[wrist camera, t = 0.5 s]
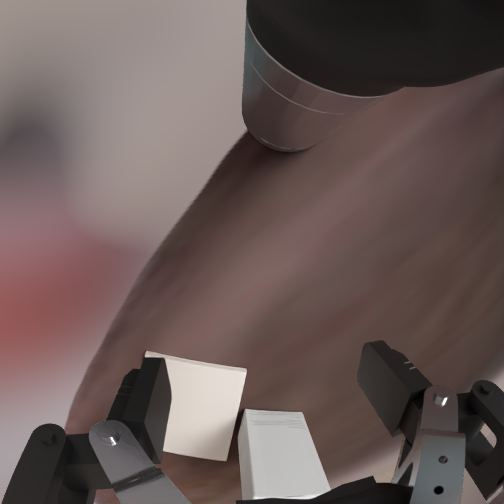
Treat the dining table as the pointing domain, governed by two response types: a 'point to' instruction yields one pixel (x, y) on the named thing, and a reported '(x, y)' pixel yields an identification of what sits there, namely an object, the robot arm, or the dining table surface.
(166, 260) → the dining table surface
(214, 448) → the mat
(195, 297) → the dining table surface
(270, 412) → the skincare box
